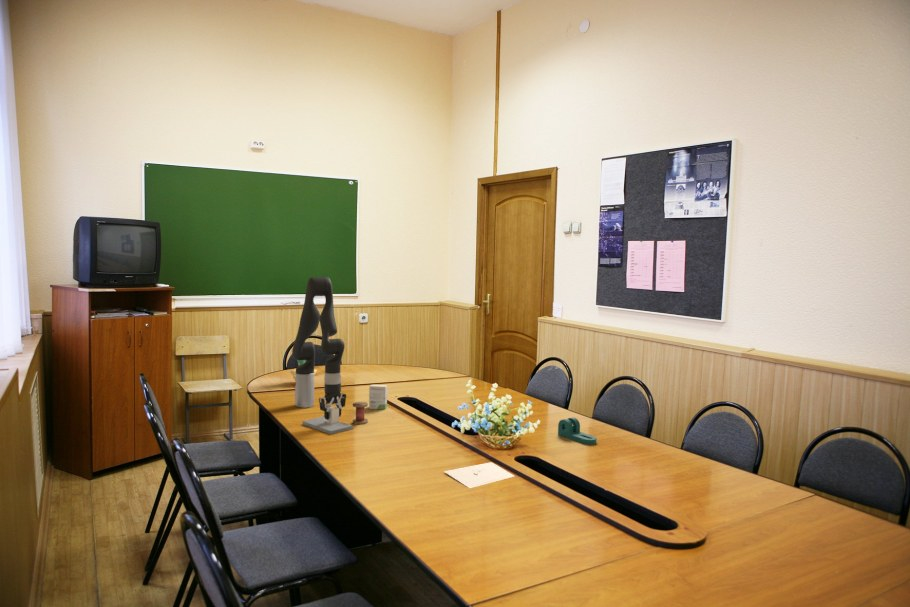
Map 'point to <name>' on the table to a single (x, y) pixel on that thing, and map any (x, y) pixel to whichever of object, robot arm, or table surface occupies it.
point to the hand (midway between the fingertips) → (332, 417)
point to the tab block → (333, 415)
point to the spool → (360, 413)
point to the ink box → (378, 397)
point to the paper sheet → (479, 474)
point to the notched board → (327, 425)
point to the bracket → (574, 431)
